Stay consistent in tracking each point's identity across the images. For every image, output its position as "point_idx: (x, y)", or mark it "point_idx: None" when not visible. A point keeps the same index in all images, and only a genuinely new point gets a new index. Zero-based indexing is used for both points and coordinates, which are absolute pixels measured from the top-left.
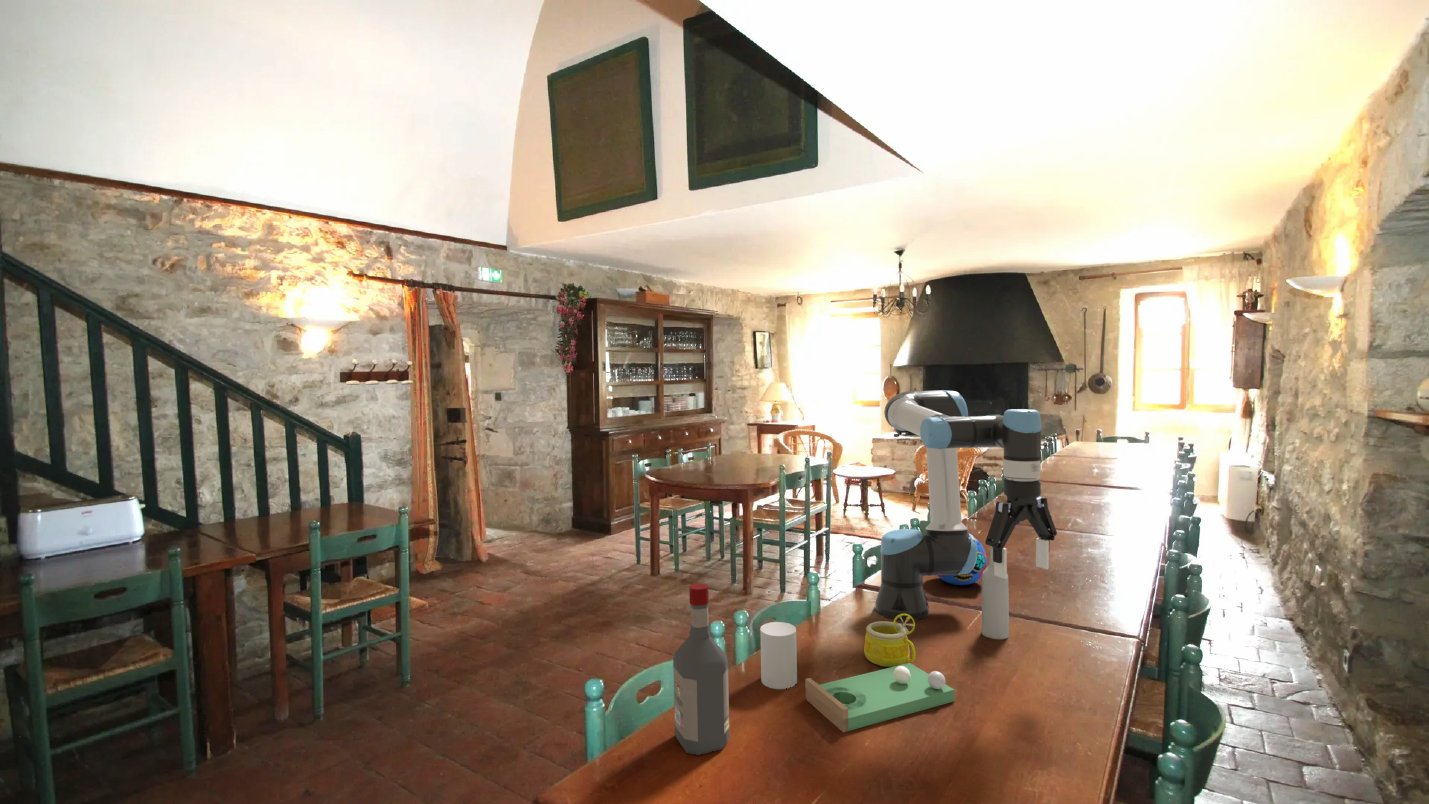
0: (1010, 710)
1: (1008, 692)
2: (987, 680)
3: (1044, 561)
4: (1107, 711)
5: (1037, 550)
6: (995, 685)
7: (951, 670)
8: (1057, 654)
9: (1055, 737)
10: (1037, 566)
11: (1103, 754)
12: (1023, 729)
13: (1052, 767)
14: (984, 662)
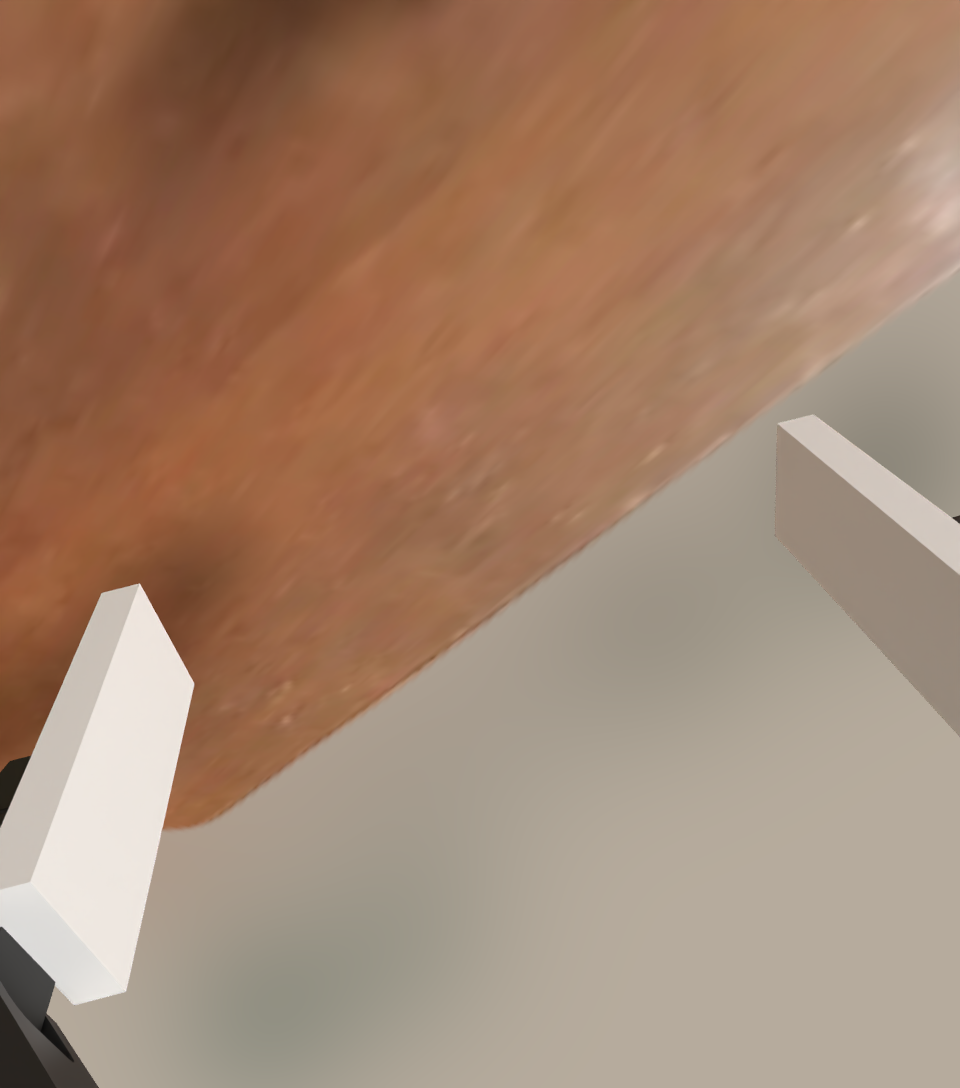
0: (178, 499)
1: (253, 376)
2: (215, 249)
3: (814, 559)
4: (521, 562)
5: (890, 536)
6: (228, 305)
7: (61, 78)
8: (770, 78)
9: (238, 654)
10: (777, 442)
11: (320, 729)
12: (157, 606)
13: None
14: (315, 38)
